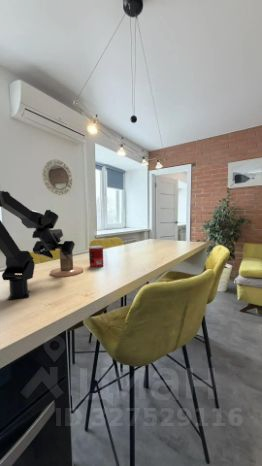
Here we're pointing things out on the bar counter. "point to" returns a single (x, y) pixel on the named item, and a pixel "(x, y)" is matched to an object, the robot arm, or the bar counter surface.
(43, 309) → the bar counter surface
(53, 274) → the terracotta dish
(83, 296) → the bar counter surface
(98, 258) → the canned food
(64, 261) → the walnut block
